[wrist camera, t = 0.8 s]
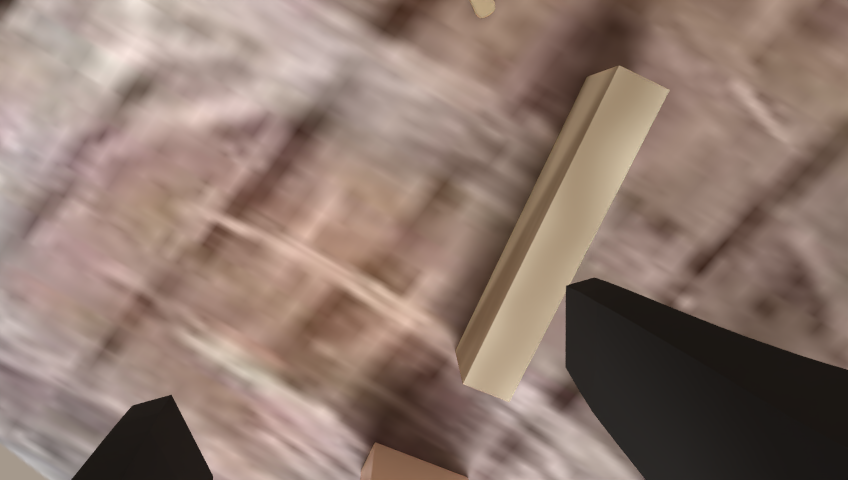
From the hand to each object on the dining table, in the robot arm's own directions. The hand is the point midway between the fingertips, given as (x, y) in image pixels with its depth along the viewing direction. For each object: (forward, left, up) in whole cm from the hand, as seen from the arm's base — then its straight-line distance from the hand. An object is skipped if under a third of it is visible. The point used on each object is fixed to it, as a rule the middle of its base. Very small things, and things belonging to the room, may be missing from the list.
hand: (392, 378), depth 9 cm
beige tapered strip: (-7, -3, -17) cm, 19 cm away
